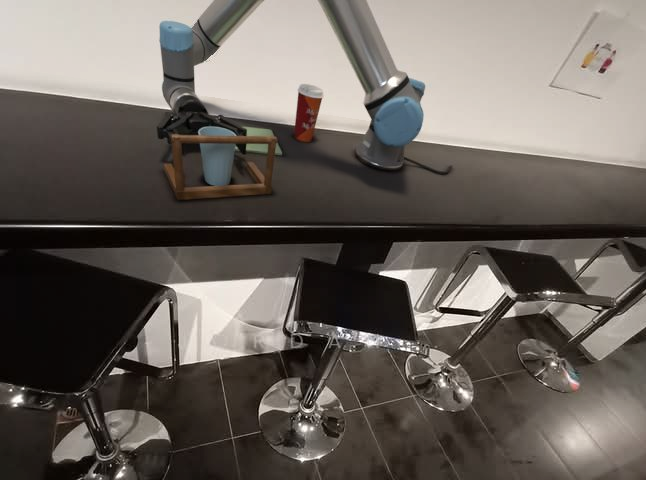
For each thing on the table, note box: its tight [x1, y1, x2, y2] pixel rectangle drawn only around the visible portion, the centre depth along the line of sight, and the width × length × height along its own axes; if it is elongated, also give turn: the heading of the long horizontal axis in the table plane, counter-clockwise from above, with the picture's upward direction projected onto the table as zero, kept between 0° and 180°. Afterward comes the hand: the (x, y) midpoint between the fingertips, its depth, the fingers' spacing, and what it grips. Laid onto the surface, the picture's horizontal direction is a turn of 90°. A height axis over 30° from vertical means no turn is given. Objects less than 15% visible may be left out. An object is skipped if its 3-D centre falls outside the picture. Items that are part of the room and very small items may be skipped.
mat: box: [235, 125, 283, 156], centre depth 97 cm, size 18×16×1 cm
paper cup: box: [293, 83, 325, 143], centre depth 102 cm, size 8×8×14 cm
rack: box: [163, 134, 278, 201], centre depth 73 cm, size 21×12×13 cm, turn 119°
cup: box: [197, 127, 236, 186], centre depth 74 cm, size 8×8×10 cm
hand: (214, 148), depth 75 cm, fingers open, 13 cm apart
